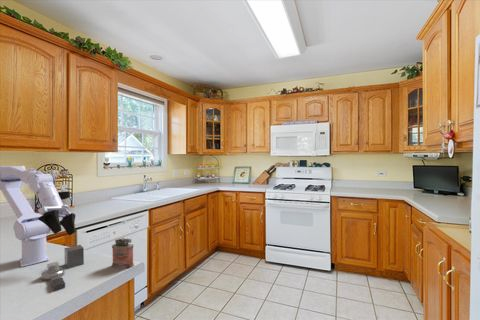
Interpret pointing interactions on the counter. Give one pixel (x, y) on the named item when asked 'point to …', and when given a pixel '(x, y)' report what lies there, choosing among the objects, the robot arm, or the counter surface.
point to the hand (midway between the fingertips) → (65, 232)
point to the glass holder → (65, 199)
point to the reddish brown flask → (122, 253)
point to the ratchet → (54, 276)
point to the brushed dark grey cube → (74, 256)
